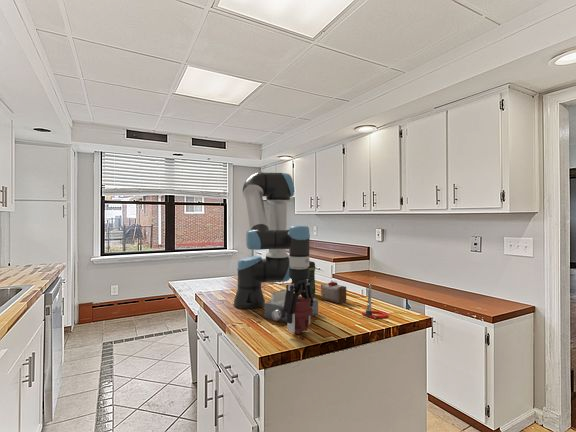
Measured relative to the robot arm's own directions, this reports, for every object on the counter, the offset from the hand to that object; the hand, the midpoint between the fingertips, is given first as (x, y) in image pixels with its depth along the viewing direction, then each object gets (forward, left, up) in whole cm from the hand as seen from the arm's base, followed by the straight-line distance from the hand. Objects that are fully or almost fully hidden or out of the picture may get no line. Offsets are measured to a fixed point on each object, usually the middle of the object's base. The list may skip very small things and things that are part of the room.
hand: (299, 327), depth 121 cm
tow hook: (+16, +37, -2) cm, 40 cm away
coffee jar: (-30, +55, -2) cm, 62 cm away
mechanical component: (0, 0, -1) cm, 1 cm away
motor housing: (-14, +14, -2) cm, 20 cm away
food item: (-11, +50, -2) cm, 51 cm away
